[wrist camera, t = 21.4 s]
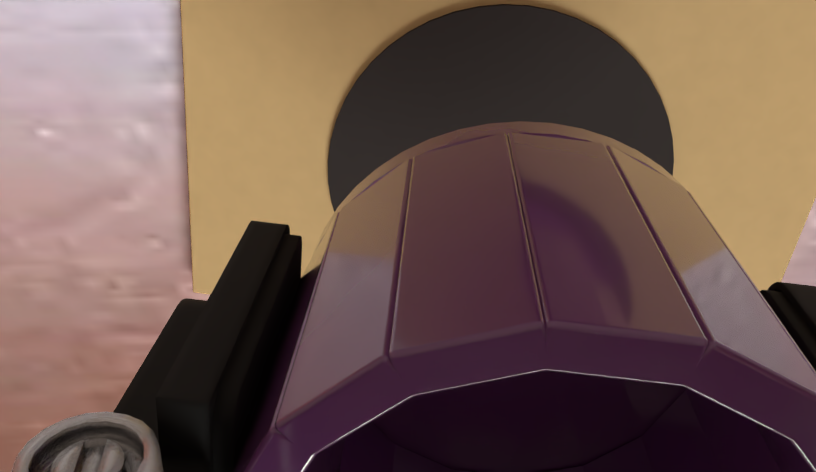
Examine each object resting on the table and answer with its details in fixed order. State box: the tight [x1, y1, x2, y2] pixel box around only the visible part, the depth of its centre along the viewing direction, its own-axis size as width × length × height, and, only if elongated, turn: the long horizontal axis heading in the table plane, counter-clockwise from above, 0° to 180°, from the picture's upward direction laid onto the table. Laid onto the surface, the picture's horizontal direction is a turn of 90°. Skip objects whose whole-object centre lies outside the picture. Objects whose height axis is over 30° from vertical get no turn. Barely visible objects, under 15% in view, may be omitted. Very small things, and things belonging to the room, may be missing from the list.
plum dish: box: [233, 121, 816, 472], centre depth 9 cm, size 7×7×5 cm
